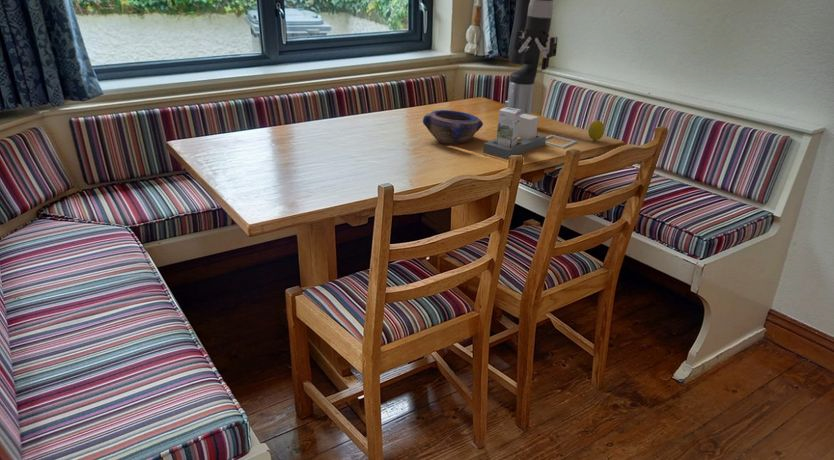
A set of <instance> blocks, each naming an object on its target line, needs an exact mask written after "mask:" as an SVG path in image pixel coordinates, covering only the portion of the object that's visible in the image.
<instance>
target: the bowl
mask: <svg viewBox="0 0 834 460" xmlns="http://www.w3.org/2000/svg"><path fill="white" fill-rule="evenodd" d="M422 123H423V125H424V126H425V127H426V129H427V130H428V131H429V133H430V134H431V135H432V137H434V138H435V139H436V141H437V142H439V143H441V144H444V145H450V146H451V145H453V144H454V145H455V144H463V143H467V142H468V141H470V140H471V139H472V138H473V137H475V136H474V135H475V134H476V133H477V132H478V131H479V130H480V129H481V128H482V127H483V126H484V122H483V121H482V120H481V119H480V118H479V117H477V116H475V115H473V114H471V113H467V112H464V111H457V110H451V109H450V110H449V109H440V110H438V109H437V110H434V111H431V112H430V113H427V114H425V115H423V118H422Z"/></svg>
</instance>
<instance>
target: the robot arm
mask: <svg viewBox="0 0 834 460" xmlns="http://www.w3.org/2000/svg"><path fill="white" fill-rule="evenodd" d="M514 10H515V11H514V19H513V26H512V30H511V35H510V39H509V45H508V60H509V63H511V64H514V65H519V66H520V65H521V66H522V68H519V69H518V70H517V71H513V72H512V73H511V74H510V76H509V86H508V94H507V100H505V101H504V107H509V108H514V109H520V110H521V114H520V115H522V114H529V115H531V111H532V110H531V109H532V103H533V102H532V101H533V96H534V95H533V94H534V87H535V80H536V77H537V74H538V73H537V72H538V68H539V61H540V56H541V55H542V56H543V57H542V61H541V68H540V69H541V70H543V71H544V70H547V69H548V68H549V63H550V58H552V57H556V56H557V50H558V49H557V48H558V39H559V38H558V37H557V36H550V30H551V24H552V17H553V16H552V15H553V10H554V0H516V3H515V9H514ZM547 43H549V46H548V44H547Z"/></svg>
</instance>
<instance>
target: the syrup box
mask: <svg viewBox="0 0 834 460" xmlns="http://www.w3.org/2000/svg"><path fill="white" fill-rule="evenodd" d="M520 114H521V110H520V109H514V108H509V107H505V106H504V107H502V108H500V109H499V112H498V120H497V130H496V138H495V139H496V144H497V145H501V146H504V147H508V148H511V147H514V146H517V137H518V129H519V122H520Z"/></svg>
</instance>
